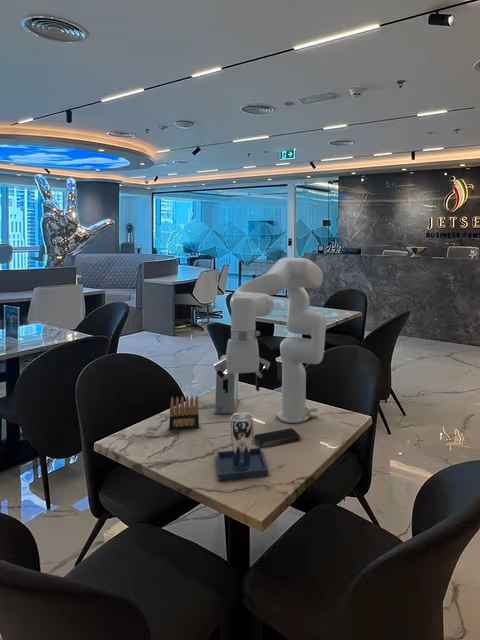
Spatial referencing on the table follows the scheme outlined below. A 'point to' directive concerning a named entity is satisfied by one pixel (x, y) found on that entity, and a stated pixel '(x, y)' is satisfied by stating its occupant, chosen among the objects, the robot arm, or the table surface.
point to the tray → (229, 473)
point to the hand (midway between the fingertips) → (241, 390)
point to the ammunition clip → (186, 420)
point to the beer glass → (241, 440)
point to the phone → (276, 437)
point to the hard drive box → (226, 400)
